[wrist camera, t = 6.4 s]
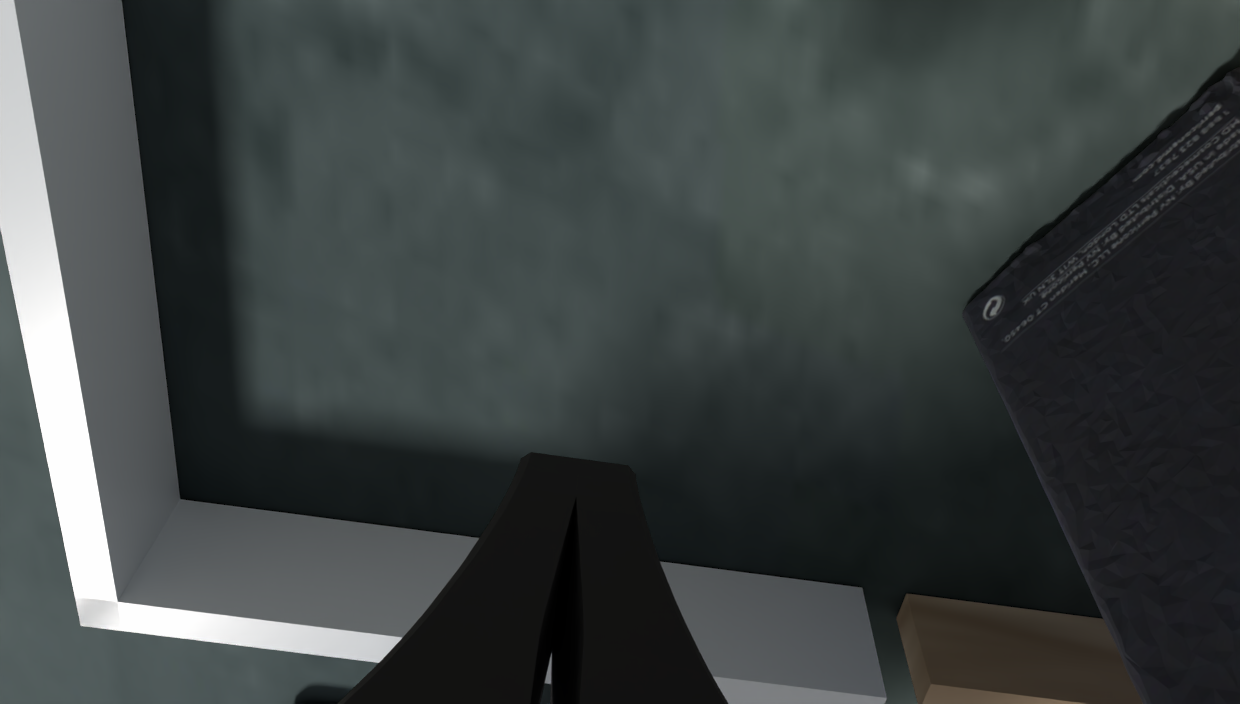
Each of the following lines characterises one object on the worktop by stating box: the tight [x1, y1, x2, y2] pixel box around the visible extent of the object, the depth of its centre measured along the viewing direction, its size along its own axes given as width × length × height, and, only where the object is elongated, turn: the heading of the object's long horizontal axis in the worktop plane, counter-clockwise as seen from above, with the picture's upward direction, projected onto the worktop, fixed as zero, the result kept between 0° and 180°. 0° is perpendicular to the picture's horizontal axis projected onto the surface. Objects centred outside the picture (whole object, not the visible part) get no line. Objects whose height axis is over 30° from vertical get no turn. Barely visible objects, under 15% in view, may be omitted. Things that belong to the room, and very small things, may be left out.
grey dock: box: [0, 0, 887, 704], centre depth 17 cm, size 16×16×3 cm
